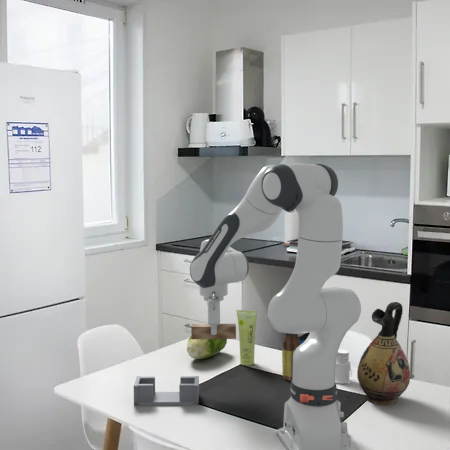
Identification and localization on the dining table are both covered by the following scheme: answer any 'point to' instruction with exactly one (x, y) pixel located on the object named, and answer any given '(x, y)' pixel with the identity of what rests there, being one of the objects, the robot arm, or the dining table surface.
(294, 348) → the sauce bottle
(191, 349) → the lettuce
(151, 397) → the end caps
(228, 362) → the dining table surface
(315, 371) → the robot arm
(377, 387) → the ceramic jug
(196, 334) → the slat
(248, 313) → the tube
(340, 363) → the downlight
